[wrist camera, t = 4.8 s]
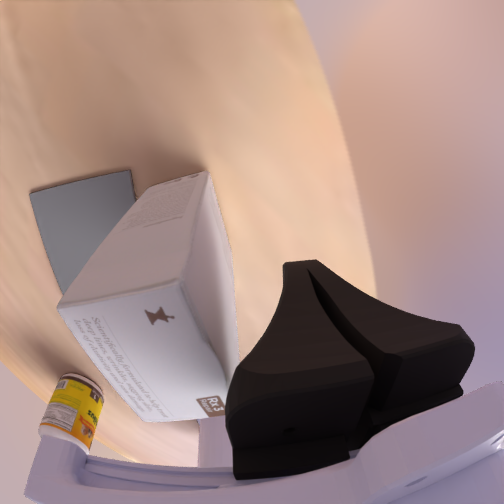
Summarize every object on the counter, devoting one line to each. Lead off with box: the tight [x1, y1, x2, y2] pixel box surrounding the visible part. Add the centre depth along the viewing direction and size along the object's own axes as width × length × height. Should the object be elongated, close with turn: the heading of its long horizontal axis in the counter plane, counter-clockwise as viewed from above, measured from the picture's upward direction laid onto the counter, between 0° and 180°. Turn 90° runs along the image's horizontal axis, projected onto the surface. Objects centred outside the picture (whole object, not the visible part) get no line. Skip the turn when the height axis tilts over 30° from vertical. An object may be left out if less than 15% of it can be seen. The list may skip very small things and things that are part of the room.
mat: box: [29, 170, 136, 295], centre depth 19 cm, size 9×8×1 cm
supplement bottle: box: [38, 373, 104, 455], centre depth 22 cm, size 6×6×10 cm
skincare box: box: [57, 171, 240, 422], centre depth 13 cm, size 6×4×12 cm
